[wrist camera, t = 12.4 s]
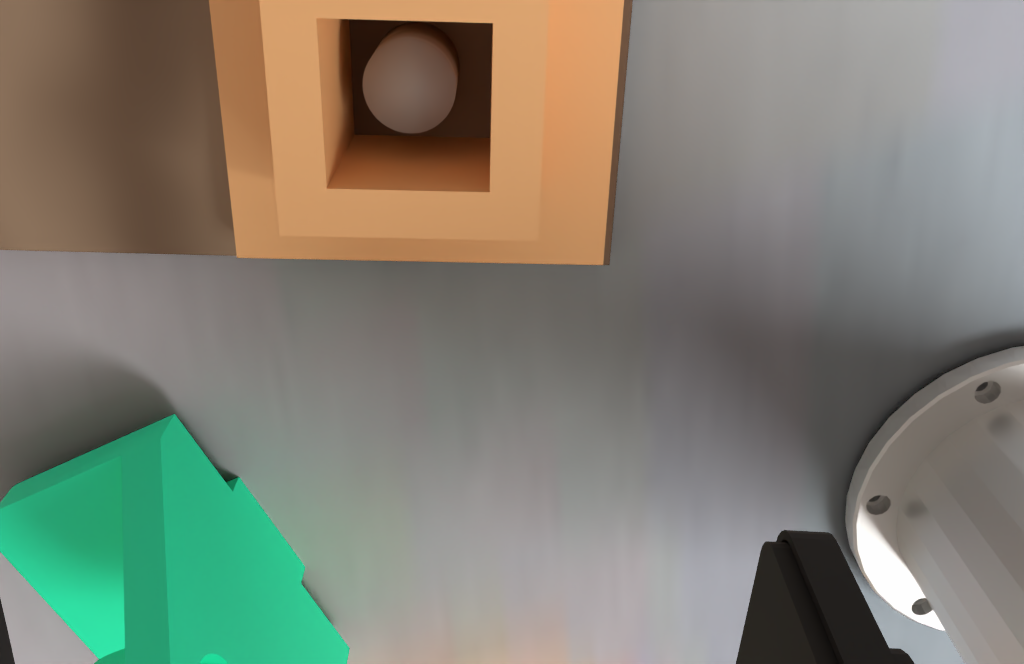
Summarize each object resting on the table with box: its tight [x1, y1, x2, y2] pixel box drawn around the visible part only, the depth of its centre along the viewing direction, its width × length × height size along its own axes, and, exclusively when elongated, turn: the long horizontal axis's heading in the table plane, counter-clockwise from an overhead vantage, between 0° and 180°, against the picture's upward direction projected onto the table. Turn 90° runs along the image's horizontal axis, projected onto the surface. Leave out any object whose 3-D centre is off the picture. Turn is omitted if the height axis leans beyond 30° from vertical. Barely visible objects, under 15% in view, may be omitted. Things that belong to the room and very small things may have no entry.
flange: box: [209, 0, 624, 265], centre depth 24 cm, size 11×11×5 cm
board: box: [0, 0, 633, 265], centre depth 25 cm, size 27×12×4 cm, turn 88°
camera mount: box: [0, 414, 350, 664], centre depth 31 cm, size 12×8×10 cm, turn 25°
